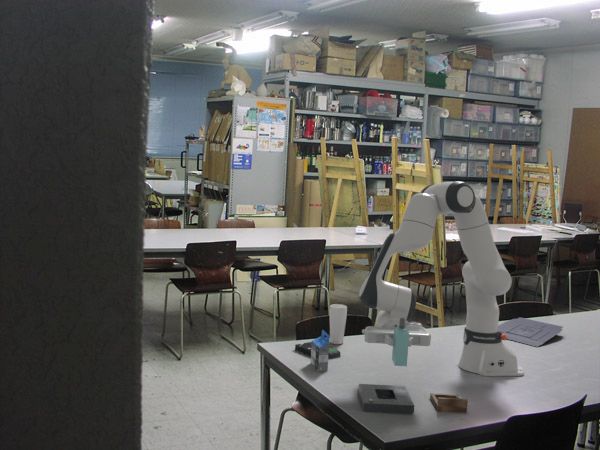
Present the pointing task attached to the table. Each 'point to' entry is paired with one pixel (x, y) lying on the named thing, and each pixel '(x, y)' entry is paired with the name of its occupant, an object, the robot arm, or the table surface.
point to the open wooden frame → (449, 403)
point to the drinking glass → (337, 323)
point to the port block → (397, 404)
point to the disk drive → (307, 350)
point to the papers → (529, 331)
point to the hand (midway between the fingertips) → (400, 343)
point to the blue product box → (320, 352)
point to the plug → (400, 344)
